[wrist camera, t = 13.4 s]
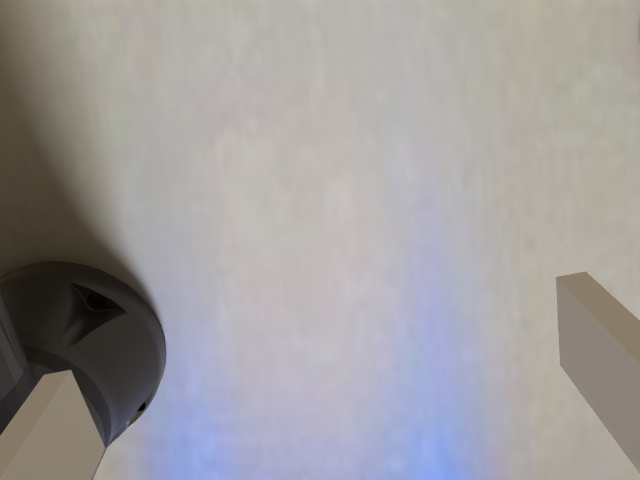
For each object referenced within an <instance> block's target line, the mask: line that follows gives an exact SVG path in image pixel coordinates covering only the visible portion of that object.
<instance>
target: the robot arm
mask: <svg viewBox="0 0 640 480" xmlns="http://www.w3.org/2000/svg"><path fill="white" fill-rule="evenodd" d="M556 287H557V308H558V329H559V350H560V365H561V367H562V368H563V369H564V371H565V372H566V373H567V375H568V376H569V378H570V379H571V380H572V382H573V383H574V384H575V386H576V387H577V388H578V390H579V391H580V393H581V394H582V395H583V397H584V398H585V399H586V401H587V402H588V403H589V405H590V406H591V408H592V409H593V410H594V412H595V413H596V414H597V416H598V417H599V418H600V420H601V421H602V423H603V424H604V425H605V427H606V428H607V429H608V431H609V432H610V433H611V435H612V436H613V438H614V439H615V440H616V442H617V443H618V444H619V446H620V447H621V448H622V450H623V451H624V453H625V454H626V455H627V457H628V458H629V459H630V461H631V462H632V463H633V465H634V466H635V467H636V469H637V470H638V472H639V473H640V321H639V320H638V319H637V318H636V317H635V316H634V315H633V314H632V313H631V312H629V311H628V310H627V309H626V308H625V307H624V306H623V305H622V304H621V303H620V302H618V301H617V300H616V299H615V298H614V297H613V296H612V295H611V294H610V293H609V292H607V291H606V290H605V289H604V288H603V287H602V286H601V285H600V284H599V283H598V282H597V281H595V280H594V279H593V278H592V277H591V276H590V275H589V274H588V273H587V272H581V273H576V274H570V275H565V276H560V277H556ZM165 364H166V346H165V340H164V336H163V333H162V330H161V327H160V325H159V323H158V321H157V319H156V317H155V315H154V314H153V312H152V311H151V309H150V308H149V306H148V305H147V304H146V303H145V302H144V300H143V299H142V298H141V297H140V296H139V295H138V294H137V293H135V292H134V291H133V290H132V289H131V288H129V287H128V286H127V285H125V284H124V283H123V282H121V281H119V280H118V279H116V278H114V277H112V276H110V275H108V274H106V273H104V272H102V271H99V270H97V269H94V268H90V267H87V266H83V265H78V264H73V263H63V262H48V263H40V264H34V265H30V266H26V267H23V268H20V269H18V270H15V271H13V272H11V273H9V274H7V275H6V276H4V277H3V278H1V279H0V480H93V477H94V475H95V473H96V471H97V468H98V466H99V464H100V461H101V459H102V457H103V455H104V453H105V450H106V448H107V447H108V446H109V445H110V444H111V443H112V442H113V441H114V440H115V439H117V438H118V437H119V436H120V435H121V434H122V433H123V432H124V431H125V430H126V429H127V427H128V426H130V425H131V424H132V423H133V422H135V421H136V420H137V419H138V418H139V417H140V416H141V415H142V414H143V413H144V411H145V410H146V409H147V407H148V406H149V404H150V403H151V401H152V400H153V398H154V396H155V394H156V391H157V389H158V386H159V384H160V381H161V379H162V376H163V373H164V369H165Z"/></svg>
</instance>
